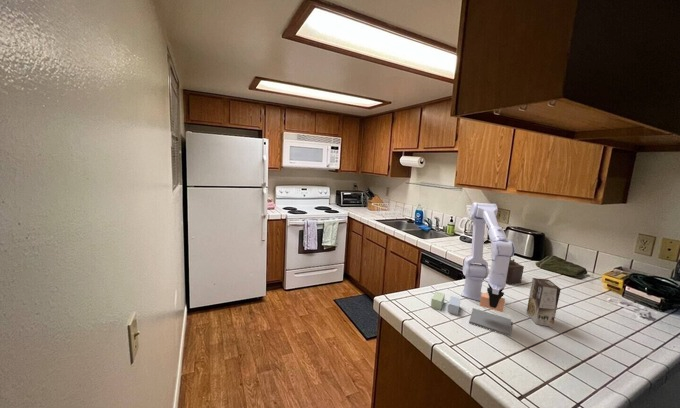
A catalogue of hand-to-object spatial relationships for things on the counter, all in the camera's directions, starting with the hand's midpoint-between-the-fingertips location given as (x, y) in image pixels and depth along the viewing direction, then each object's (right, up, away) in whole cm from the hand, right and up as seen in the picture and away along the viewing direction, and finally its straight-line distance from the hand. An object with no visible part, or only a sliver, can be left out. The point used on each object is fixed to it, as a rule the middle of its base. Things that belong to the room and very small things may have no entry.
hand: (493, 304), depth 110 cm
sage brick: (-17, -5, +13) cm, 22 cm away
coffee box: (+22, -8, +6) cm, 24 cm away
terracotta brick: (0, -1, 0) cm, 1 cm away
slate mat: (0, -7, +1) cm, 8 cm away
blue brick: (-12, -6, +9) cm, 16 cm away
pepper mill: (+31, -2, +47) cm, 56 cm away
